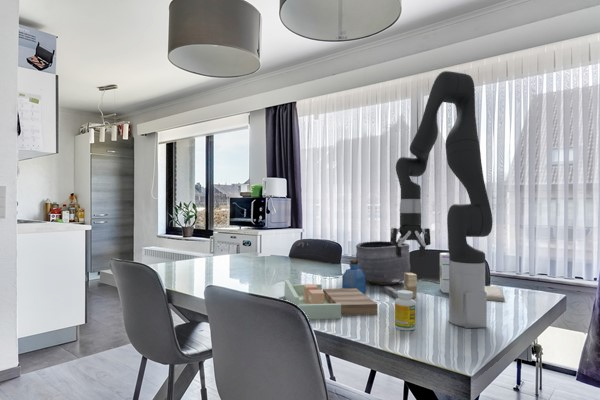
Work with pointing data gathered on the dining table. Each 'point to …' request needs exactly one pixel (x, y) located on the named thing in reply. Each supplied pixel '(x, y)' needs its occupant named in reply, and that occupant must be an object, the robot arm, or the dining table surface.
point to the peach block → (316, 297)
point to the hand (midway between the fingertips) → (410, 257)
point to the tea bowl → (383, 262)
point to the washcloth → (494, 293)
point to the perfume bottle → (354, 277)
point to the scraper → (409, 285)
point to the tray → (311, 310)
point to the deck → (351, 301)
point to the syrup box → (444, 272)
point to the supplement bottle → (405, 311)
